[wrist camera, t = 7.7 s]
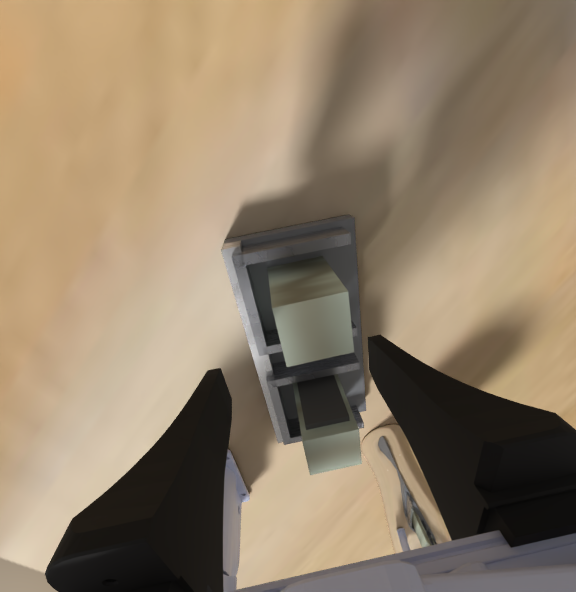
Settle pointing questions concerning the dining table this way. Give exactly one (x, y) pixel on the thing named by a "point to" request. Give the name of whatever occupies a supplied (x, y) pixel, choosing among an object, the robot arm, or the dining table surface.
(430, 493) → the beer glass
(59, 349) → the dining table surface
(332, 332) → the sage green rectangular prism
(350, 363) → the grey slotted rack
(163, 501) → the robot arm
